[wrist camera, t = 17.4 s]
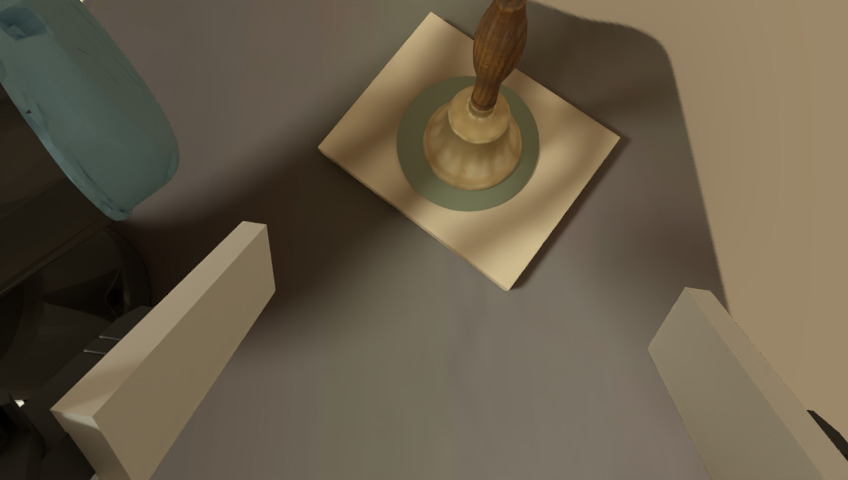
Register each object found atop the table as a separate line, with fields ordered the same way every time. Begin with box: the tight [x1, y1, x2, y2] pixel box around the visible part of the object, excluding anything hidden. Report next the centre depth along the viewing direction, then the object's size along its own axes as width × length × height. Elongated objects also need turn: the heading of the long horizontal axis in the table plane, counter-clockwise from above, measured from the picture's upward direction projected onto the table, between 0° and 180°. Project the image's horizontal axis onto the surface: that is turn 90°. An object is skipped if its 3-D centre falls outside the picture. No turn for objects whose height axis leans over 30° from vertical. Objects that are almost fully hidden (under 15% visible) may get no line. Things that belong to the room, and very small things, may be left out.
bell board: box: [318, 12, 620, 291], centre depth 33 cm, size 20×16×2 cm
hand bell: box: [422, 0, 527, 191], centre depth 24 cm, size 8×8×16 cm
